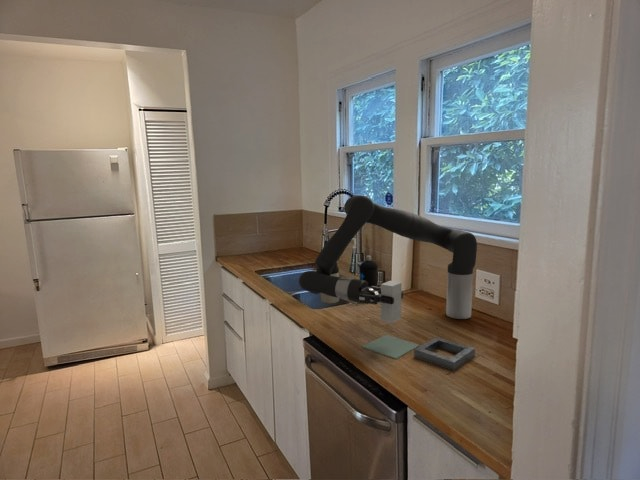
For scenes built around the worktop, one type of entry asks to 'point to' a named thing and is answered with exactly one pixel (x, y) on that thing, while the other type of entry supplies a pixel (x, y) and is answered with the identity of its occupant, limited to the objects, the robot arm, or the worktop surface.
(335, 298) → the travel mug
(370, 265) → the aerosol can
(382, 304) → the skincare box
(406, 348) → the set down mat
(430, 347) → the block
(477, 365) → the worktop surface
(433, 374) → the worktop surface
